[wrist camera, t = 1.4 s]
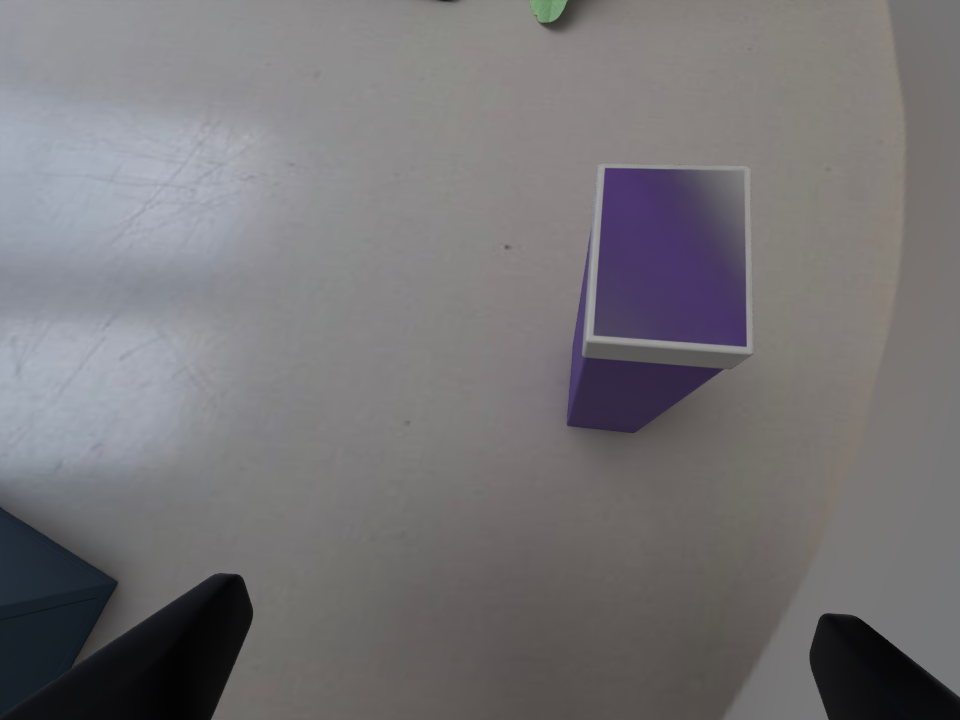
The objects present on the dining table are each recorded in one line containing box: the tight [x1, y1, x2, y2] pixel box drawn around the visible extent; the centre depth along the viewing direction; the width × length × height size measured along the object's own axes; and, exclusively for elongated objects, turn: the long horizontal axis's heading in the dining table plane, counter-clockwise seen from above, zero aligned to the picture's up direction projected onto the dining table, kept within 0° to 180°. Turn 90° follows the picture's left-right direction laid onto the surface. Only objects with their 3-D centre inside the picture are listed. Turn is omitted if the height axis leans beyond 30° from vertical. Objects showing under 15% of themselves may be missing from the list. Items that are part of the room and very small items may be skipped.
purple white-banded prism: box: [567, 164, 753, 433], centre depth 16 cm, size 4×3×13 cm
